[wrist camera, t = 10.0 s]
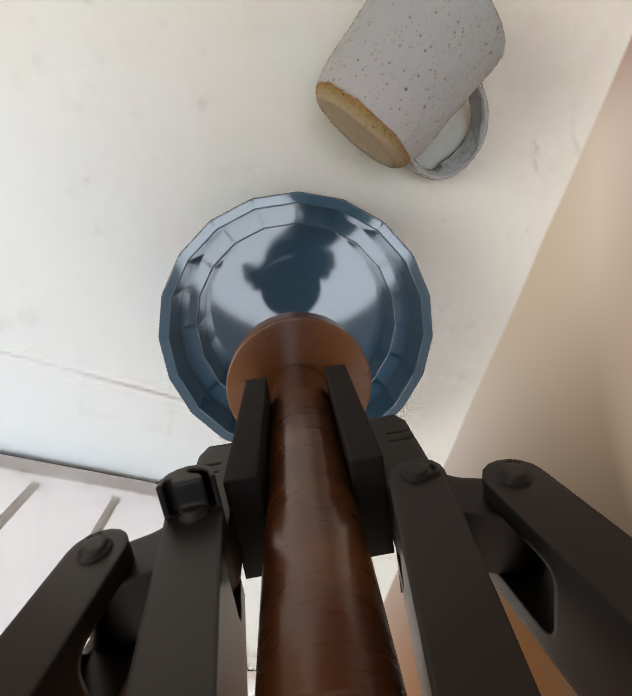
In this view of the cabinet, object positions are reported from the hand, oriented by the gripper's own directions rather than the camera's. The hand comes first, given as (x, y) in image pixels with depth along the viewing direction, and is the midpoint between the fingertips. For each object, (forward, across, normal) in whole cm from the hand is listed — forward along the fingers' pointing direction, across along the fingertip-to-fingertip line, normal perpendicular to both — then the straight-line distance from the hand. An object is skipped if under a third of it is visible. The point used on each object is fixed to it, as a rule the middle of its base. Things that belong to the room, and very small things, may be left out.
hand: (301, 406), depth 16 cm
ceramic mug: (+16, +10, +13) cm, 23 cm away
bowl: (+16, 0, 0) cm, 16 cm away
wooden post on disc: (+3, 0, 0) cm, 3 cm away
